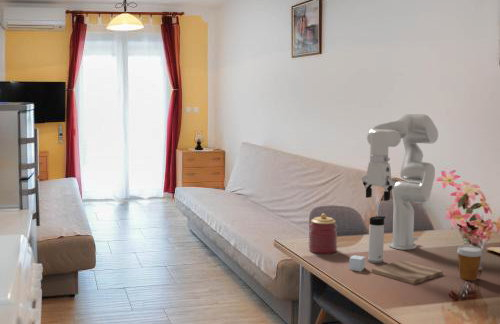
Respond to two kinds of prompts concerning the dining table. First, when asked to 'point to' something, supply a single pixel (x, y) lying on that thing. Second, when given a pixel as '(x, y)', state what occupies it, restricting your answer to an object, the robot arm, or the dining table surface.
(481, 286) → the dining table surface
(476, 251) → the disposable coffee cup
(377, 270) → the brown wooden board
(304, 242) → the dining table surface
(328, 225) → the canister
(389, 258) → the dining table surface
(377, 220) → the travel mug
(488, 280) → the dining table surface
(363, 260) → the grey-blue block
